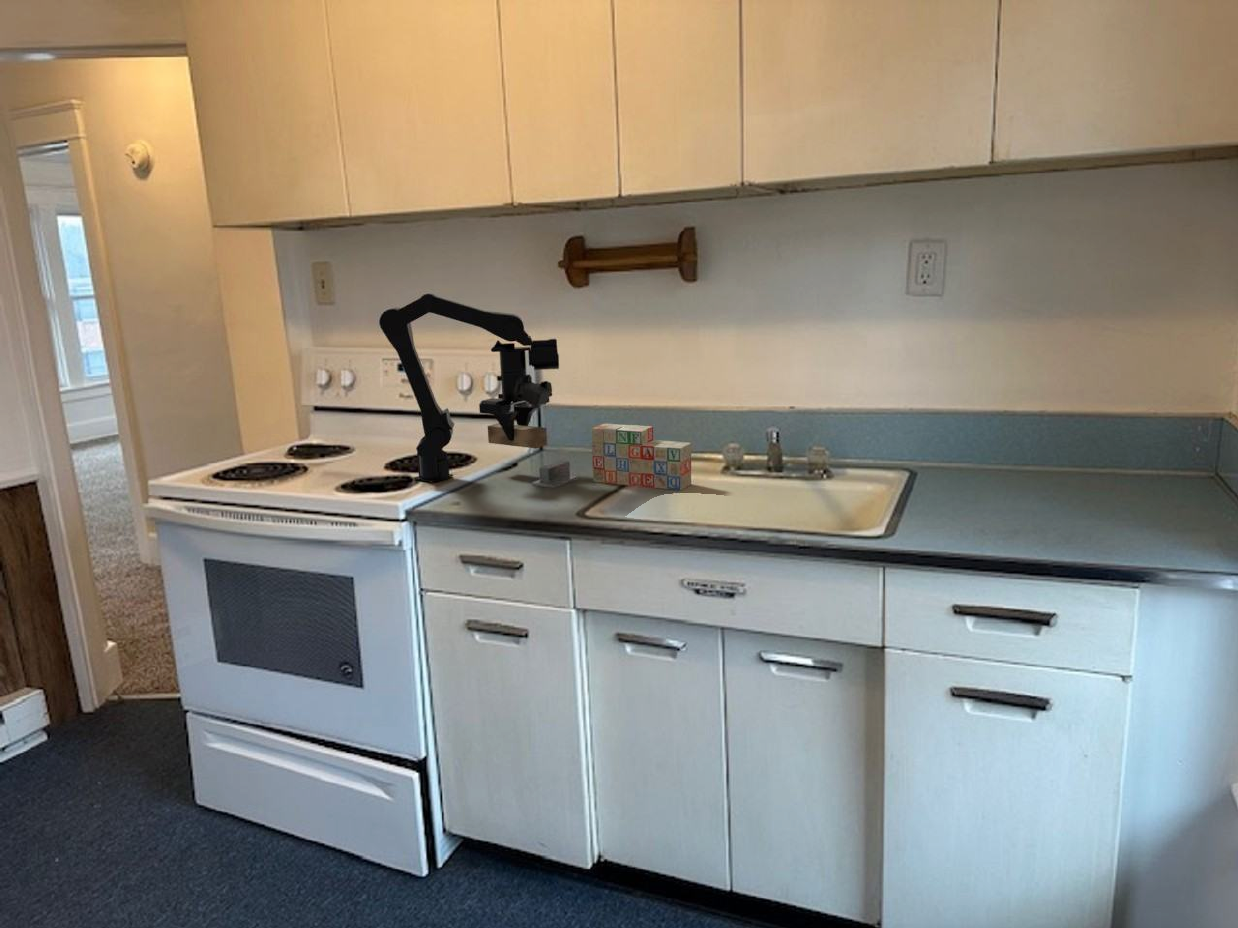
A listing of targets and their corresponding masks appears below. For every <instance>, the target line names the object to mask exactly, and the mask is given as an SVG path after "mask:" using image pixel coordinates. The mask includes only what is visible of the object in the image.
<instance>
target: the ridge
mask: <svg viewBox="0 0 1238 928" xmlns="http://www.w3.org/2000/svg"><path fill="white" fill-rule="evenodd" d="M570 467H571V466H570V461H569V460H558V461H557V460H556V461H554V462H552V463H548V464H546V465H543V466H540V467H539V469H538V471H539V479H536V480H535V481H532V482H531V486H537V487H544V488H550V489H556V488H558V487H561V486H563V485H566V484H569V483H570V482H571V483H572V482H574V481H576V480H578V479H579V476H577V475H571V473H570V472H571V470H570V469H571V468H570Z"/></svg>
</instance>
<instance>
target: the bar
mask: <svg viewBox="0 0 1238 928" xmlns="http://www.w3.org/2000/svg"><path fill="white" fill-rule="evenodd" d="M547 431H548V430H547V427H541V426H533V425H532V426H531V425H530V426H523V425H517V424H514V440H513V441H509V440H508V438H507V436H506V434H505V432H504V431H503V429H502V427H501V425H500V424H499V422H497V423H494V424H490V425H487V435H488V436H487V437H488V438H487V439H488V443H489V444H495V445H502V446H503V445H504V446H511V447H518V448H519V447H520V448H530V449H535V450H536V449H540V448H542V447H546V446H548V434H547Z"/></svg>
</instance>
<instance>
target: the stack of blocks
mask: <svg viewBox="0 0 1238 928" xmlns="http://www.w3.org/2000/svg"><path fill="white" fill-rule="evenodd" d="M590 430H591V431H590V432H591V433H590V434H591V455H592V457H591V458H592V475H593V476H592V478H593V480H592V481H593V482H597V483H606V484H612V485H613V484H614V485H622V486H635V487H644V488H653V489H654V488H656V489H663V490H665V489H666V490H671V491H672V490H673V491H681V490H683V489H685V488H687V487H689V486H690V485H692V443H691V442H684V441H676V440H675V441H673V440H657V439H654V427H653V426H650V425H637V424H619V423H618V424H616V423H615V424H614V423H602V424H600V425H598V426H594V427H592V428H591V429H590Z"/></svg>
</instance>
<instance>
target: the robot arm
mask: <svg viewBox="0 0 1238 928" xmlns="http://www.w3.org/2000/svg"><path fill="white" fill-rule="evenodd" d="M428 314H435V315H437V316H442V317H444V318H448V319H452V320H455V321H459V322H461V323H464V324H468V325H471V326H474V327H478V328H481V329H482V330H484V331H485V330H486V332H488V333H491V334H492V335H494V336H496V337H498V338H500V339H503V340H505V342H509V343H502V342H501V341H500V340H499V339H497V341H496V342H495V344H494V345H493V346H492V347H491V348H490V352H492V353H499V365H500V375H497V376H496V378H497V379H496V381H497V382H498V381H499V382H500V381H501V383H500V384H501V393H498V394H497V398H496V397H495V398H493V397H491V398H488V399H483V400H481V401H480V403H478V407H479V414H485V415H486V414H487V415H493V416H494V418H495V419H496V420H497V423H499V424H500V425H501V427H502V429H503V431H504V432H505V434H506V436H507V438H508V440H509V441H513V440H514V425H515V421H516V425H523V426H529V424H530V421H531V418H532V416H533V414H534V413H535V412H536V410H538V409H540V408H541V407H540V406H541V405H544V406H545V405H547V403H550V397H552V396H553V393H552V392H553V388H552V383H551V382H550V381H547V380H544V381H541V382H540V383H539V382H537V383H534V382H533V380H532V379H533V378H532V376H531V374H529V373H527V362H526V361H527V360H526V358H527V357H528V366H529V367H530V366H531V367H532V368H533V370H534V371H539V370H541V371H542V370H544V371H545V370H559V369H560V363H559V362H560V357H559V355H560V354H559V352H558V351H559V350H558V340H557V338H548V339H537V340H535V339H532V336H531V335H529V334H528V333H527V332H526V330H525V326H524V321H523V320H522V318H521V317H520V316H519V315H517V314H514V313H508V312H499V311H487V310H483V309H481V308H476V307H473V306H470V305H467V304H463V303H460V302H457V301H453V300H450V299H447V298H444V297H440V296H437V295H435V294H433V293H425V294H423V295H421V296H420V298H418V299H416V300H414V301H412V302H410V303H408V304H407V305H404V306H403V307H401V308H400V307H392V308H388V309H386V310H385V311H383V312H382V314H380V318H379V323H378V324H379V327H380V328H381V329H380V330H381V331H382V332H383V334H384V336H385V338H386V339H387V341H388V342H389V343H390V345H391V346H392V348H393V349H394V350H395V352H396V353H397V355H398V358H399V359H400V362H401V365H402V368H403V370H404V372H405V375H406V378H407V381H408V383H409V385H410V387H411V390H412V392H413V396H414V398H415V399H416V403H417V405H418V407H419V410H420V414H421V415H420V416H421V422H422V428H423V434H424V436H423V437H422V438H421V439H420V440H419V442H418V444H417V446H416V457H417V467H418V468H417V469H418V476H414V477H413V480H414V481H420V482H427V481H432V482H431V483H436V482H435V481H438V482H440V481H439V480H441V481H443V480H442V479H444V478H447V477H450V476H453V477H454V474H452V473H450V466H449V458H448V453H447V451H445V450H444V449H443V448H444V447H446V446H447V445H449V443H450V442H451V439H452V437H453V434H454V433H453V432H454V426H455V423H454V422H453V420H452V418H451V415H450V411H449V408H445V409H442V408H441V407H440V405H439V404H438V402H437V400H436V397H435V394H434V392H433V390H432V387H431V384H430V381H429V380H428V377H427V374H426V372H425V369H424V367H423V365H422V362H421V359H420V357H419V354H418V351H417V349H416V347H415V342H414V341H415V340H414V333H413V328H412V322H414V321H416V320H418V319H420V318H421V317H423V316H425V315H428ZM514 342H517V343H518V344H520V345H521V346H516V347H515V343H514ZM526 351H528V356H527V355H526ZM526 356H527V357H526ZM450 478H451V477H450ZM447 479H448V478H447ZM444 480H445V479H444Z"/></svg>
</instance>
